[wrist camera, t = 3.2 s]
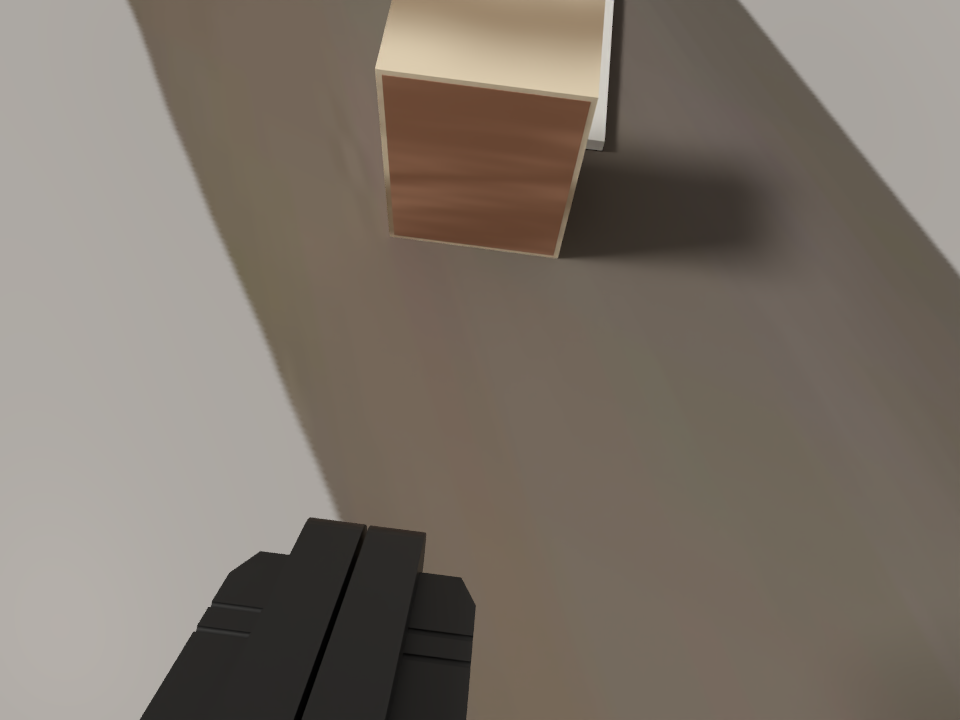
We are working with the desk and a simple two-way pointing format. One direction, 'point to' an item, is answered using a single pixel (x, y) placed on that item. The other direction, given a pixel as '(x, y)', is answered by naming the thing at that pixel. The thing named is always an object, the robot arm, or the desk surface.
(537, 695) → the desk surface
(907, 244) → the desk surface
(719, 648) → the desk surface
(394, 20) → the maple block
